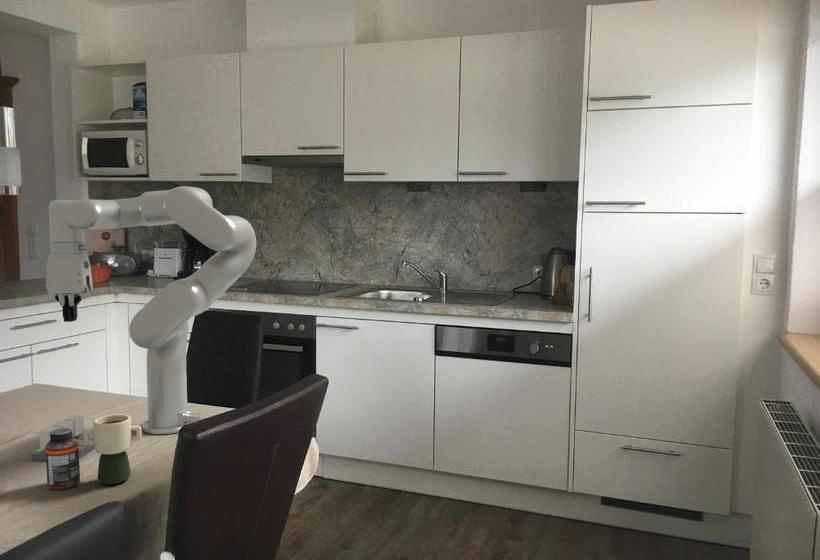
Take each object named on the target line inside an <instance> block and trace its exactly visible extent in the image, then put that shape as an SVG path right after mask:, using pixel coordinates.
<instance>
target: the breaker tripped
mask: <svg viewBox="0 0 820 560" xmlns="http://www.w3.org/2000/svg"><path fill="white" fill-rule="evenodd" d="M59 428H61V427H52V426H47V427H45V428H44V429H41V430H39V431H38V432H39V444H40V445H39V449H45V446H46V444H47V443H48V442H49V441H50V432H51V431H52V430H55V429H59Z"/></svg>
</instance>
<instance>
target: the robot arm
mask: <svg viewBox="0 0 820 560" xmlns="http://www.w3.org/2000/svg"><path fill="white" fill-rule="evenodd" d="M48 219H49V222H48V223H49V245H50V254H48V257H47V263H46V270H45V272H46V274H45V285H46V290H47V297H48V298H50V299H53V300H56V301H57V302H58V303H59V305H60V307H61V308H62V311H61V312H62V318H63V322H64V323H67V322H68V323H72V322H75V321H77V318H78V305H79V304H80V303H81V302H82V301H83V300H85V299H91V296H92V295H91V292H92V291H93V276H92V268H91V264H90V263H91V262H90V259H89V256H88V254H85V251H88V250H89V245H88V244H85V241H84V230H89V231H93V230H94V231H95V230H113V229H114V230H115V229H123V228H133V227H141V226H142V227H143V226H144V227H156V226H164V225H165V226H166V225H175V224H177V225H178V226H180V228H182V229H183V230H184V231H186V232H187V233H188V234H189V235H191V236H192V237H193V238H195V239H196V240H197V241H199V242H200V243H201V244H203V245H204V246H205V247H207V248H209V249H211V250H213V251H217V252H215V254H214V255H212V256H211V257H209V258H208V260H206V261H205V262H204V263H203V264H202V265H201V266H200V267H199V268H198V269H197V270H196V271H195V272H193V273H192V274H191V275H189V276H187V277H185V278H181V279H177V280H174V281H172V282H170V283H168V284H167V285H166V286H165V287H163V288H162V289H161V290H160V291H159V292H157V293H156V295H154V296H153V297H152V298H151V299H150V300H149V301H148V302H147V303H145V305H143V307H141V309H140V310H138V312H137V313H135V315H134V316H133V317H132V318H131V321H130V323H129V326H128V327H129V328H128V332H129V337H130V340H131V341H132V342H133V344H135V346H138V347H139V348H141V349H147V351H146V388H147V389H146V390H147V391H146V393H147V420H145V421H144V422H143V423H142V424H141V431H142V432H144V433H148V434H153V435H169V434H175V433H176V434H177V433H179V432H178V430H179V429H180V428H181V427H182V426H183V425H185V424H187V423H191V422H194V421H197V420H200V419H202V420H203V415H202V413H201V412H193V411H192V407H191V406H188V388H187V387H188V386H187V385H188V381H187V346H188V345H187V343H188V335H189V320H190V319H191V318H193V317H197V316H198V315H200V314H202V313H204V312H206V311H207V310H208V309H209V308H210V307H211V306H212V305H213V304H214V303H215V302H216V301H217V300H218V299H219V298H220V297H221V296H222V295H223V294H225V292H226V291H228V289H229V288H230V287H231V286H232V285H233V284H234V283H235V282H236V281H237V280H238V279H239V278H241V276H242V275H243V274H244V273H246V271H247V270H248V268H249V267H250V265H251V264H252V262H253V260H254V258H255V254H256V252H257V237H256V234H255V232H256V231H255V230H254V228H253V226H252V224H251V223H250V222H249V221H248V220H247V219H246V218H244V217H242V216H238V215H224V214H222V213H221V212H220V211H218V210H217V209H216V208H214V206H213V200H212V197H211V196H210V194H209V193H208V192H207V190H205V189H202V188H201V187H197V186H196V187H194V186H185V185H181V186H176V187H174V188H172V189H167V190H166V189H163V190H155V191H154V190H153V191H145V192H142V194H141V195H139V196H136V197H128V198H127V197H126V198H121V199H117V198H116V199H94V198H93V199H91V198H90V199H89V198H88V199H80V200H72V199H70V200H68V199H55V200H51V201H50V202H49V204H48ZM194 423H195V422H194Z"/></svg>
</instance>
